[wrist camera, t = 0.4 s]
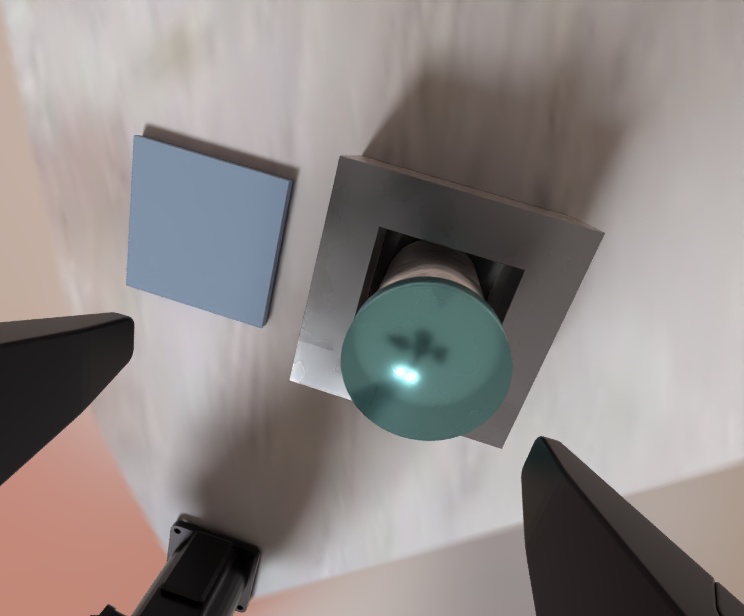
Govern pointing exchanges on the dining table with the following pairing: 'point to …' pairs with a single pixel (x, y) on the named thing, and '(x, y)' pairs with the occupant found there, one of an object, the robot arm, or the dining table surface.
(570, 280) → the housing
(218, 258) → the mat
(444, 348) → the green lidded jar
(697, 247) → the dining table surface
